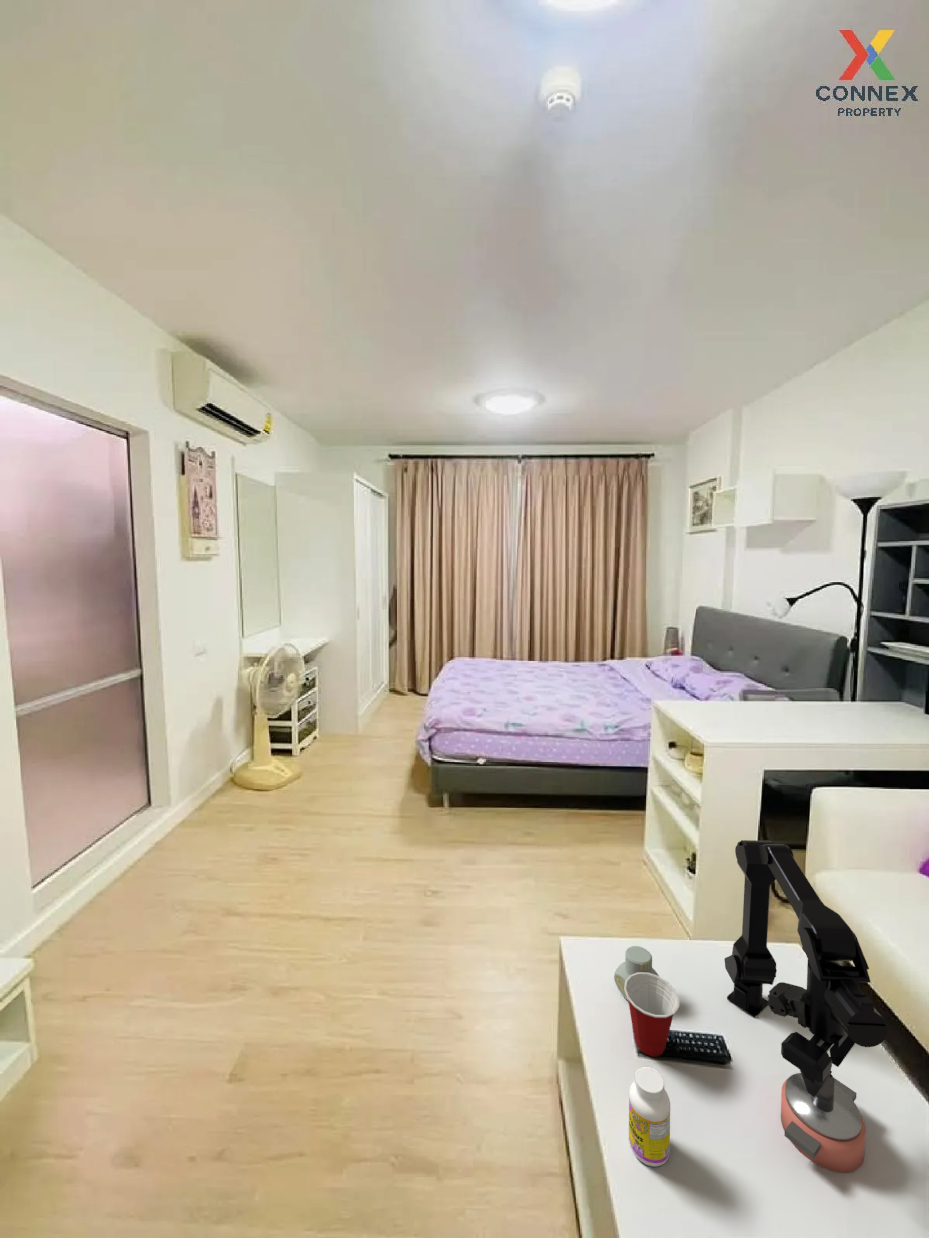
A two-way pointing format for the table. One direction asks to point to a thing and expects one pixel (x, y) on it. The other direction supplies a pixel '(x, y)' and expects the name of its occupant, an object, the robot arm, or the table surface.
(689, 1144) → the table surface
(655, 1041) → the plastic cup
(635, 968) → the air freshener
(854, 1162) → the pot
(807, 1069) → the robot arm
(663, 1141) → the supplement bottle
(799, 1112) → the lid
